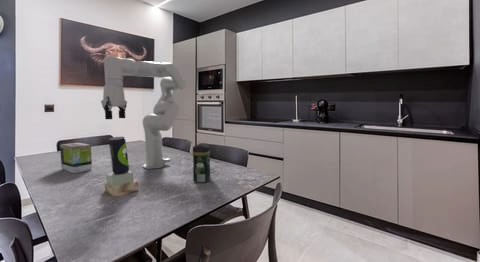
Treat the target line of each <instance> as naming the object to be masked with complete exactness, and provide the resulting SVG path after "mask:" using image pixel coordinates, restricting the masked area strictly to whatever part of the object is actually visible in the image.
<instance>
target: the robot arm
mask: <svg viewBox="0 0 480 262" xmlns="http://www.w3.org/2000/svg"><path fill="white" fill-rule="evenodd" d="M103 63H104V64H103V65H104V67H103V68H104V83H105V84H104V86H103V94H102V95H103V96H102V100H101V101H100V103H101V106H102V108H103V111H104V117H105V118H104V119H105V120H113V110H112V108H115V107H117V108H118V109H119V110H118V118H119V119H126V108H127V104H128V101H126V100H125V99H126V98H125V97H126V96H125V91H124V83H123V82H124V79H123V77H124V76H126V77H127V76H129V77H142V78H161V80H160V81H159V84H160V89H161V95H160V98H159V99H158V101H157V102H156V103H155V105H154V107H153V113H149V114H147V115H145V116H144V117H143V119H142V126H143V130H144V141H145V143H144V147H145V163H144V164H143V165H142V167H143V168H144V169H145V170H146V169H147V170H154V169H156V170H157V169H161V168H164V167H165V166H166V163H170V162H171V158H164V157H163V137H162V136H163V135H162V133H161V132H162V131H163V132H168V131H170V130H171V129H172V127H173V126H174V124H175V122H176V120H177V119H178V117H179V115H180V111H181V110H180V105H179V103H177V102H175V96H174V94H173V92H172V91H182V90H184V89H185V88H186V80H185V78H184V76H183V75H182V73H181V72H180V70H179V69H178V68H177V66H176V65H175V64H173V62H162V63H160V62H155V61H147V60H144V61H136V60H134V59H132V58H124V57H123V58H120V57H118V56H114V55H108V56H107V55H106V56H104V59H103Z"/></svg>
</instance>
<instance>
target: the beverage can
mask: <svg viewBox="0 0 480 262" xmlns="http://www.w3.org/2000/svg"><path fill="white" fill-rule="evenodd" d="M108 147H109V155H110V161H111V168H112V172H113V173H114V174H124V173H127V172H128V170H129V171H130V166H129V159H128V158H129V157H128V150H127V141H126V139H125V136H114V137H109V138H108Z"/></svg>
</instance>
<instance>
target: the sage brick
mask: <svg viewBox="0 0 480 262" xmlns="http://www.w3.org/2000/svg"><path fill="white" fill-rule="evenodd" d="M105 176H106V177H105V178H106V182H107V183H109V184H110V185H112V186H113V187H116V186H119V185H122V184H126V183H129V182H132V181H134V179H135V178H134V172H133V171H131V170H130V169H129V170H128V172H127V173H124V174H114V173H113V171H110V172H107V173H105Z"/></svg>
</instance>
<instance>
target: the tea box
mask: <svg viewBox="0 0 480 262" xmlns="http://www.w3.org/2000/svg"><path fill="white" fill-rule="evenodd" d="M59 148H60V162H61V163H60V165H61V170H63V171H66V172H69V173H72V174H76V173H82V172H87V171H91V170H93V163H92V162H93V161H92V160H93V159H92V145H91V144H89V143H84V142H72V143H61V144H60V145H59Z"/></svg>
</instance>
